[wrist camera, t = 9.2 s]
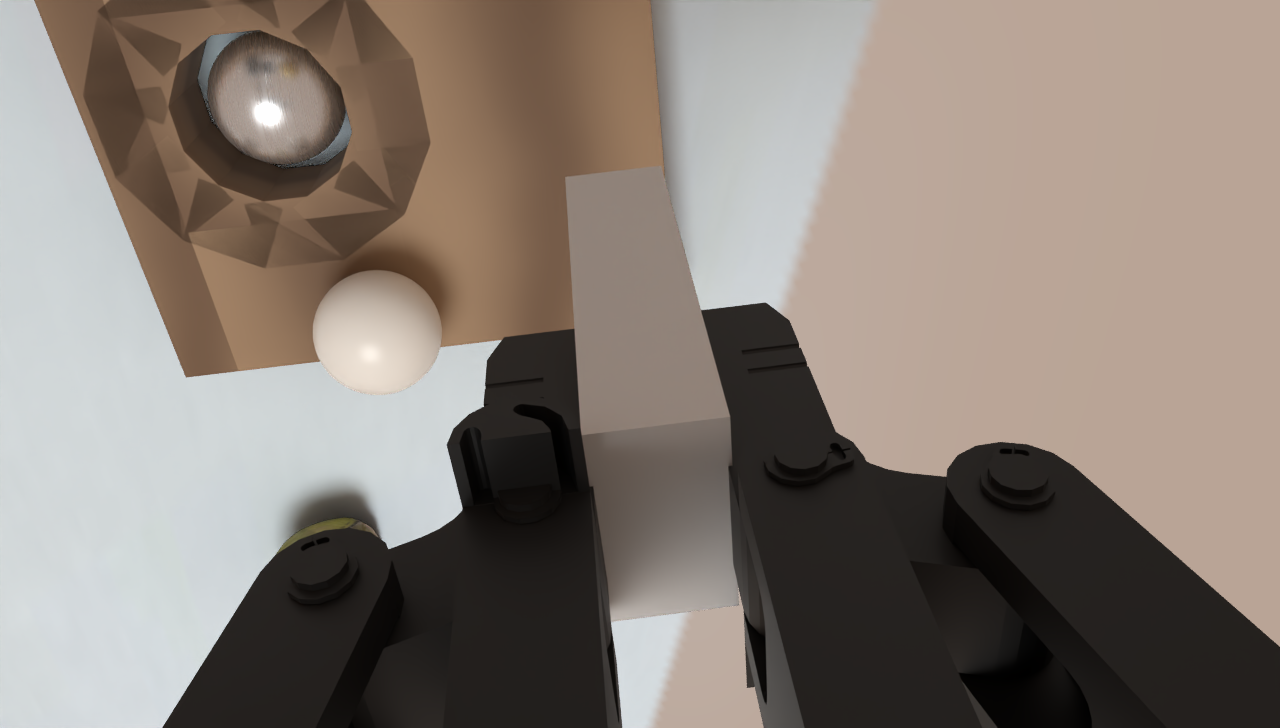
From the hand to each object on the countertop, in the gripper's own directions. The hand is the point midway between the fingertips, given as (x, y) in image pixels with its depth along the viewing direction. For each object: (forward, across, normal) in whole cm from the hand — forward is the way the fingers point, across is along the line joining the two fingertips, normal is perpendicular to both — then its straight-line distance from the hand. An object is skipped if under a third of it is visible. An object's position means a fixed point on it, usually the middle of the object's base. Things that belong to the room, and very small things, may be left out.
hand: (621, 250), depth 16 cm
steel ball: (+13, -8, -1) cm, 15 cm away
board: (+14, -6, -1) cm, 15 cm away
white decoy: (+10, -7, -7) cm, 14 cm away
